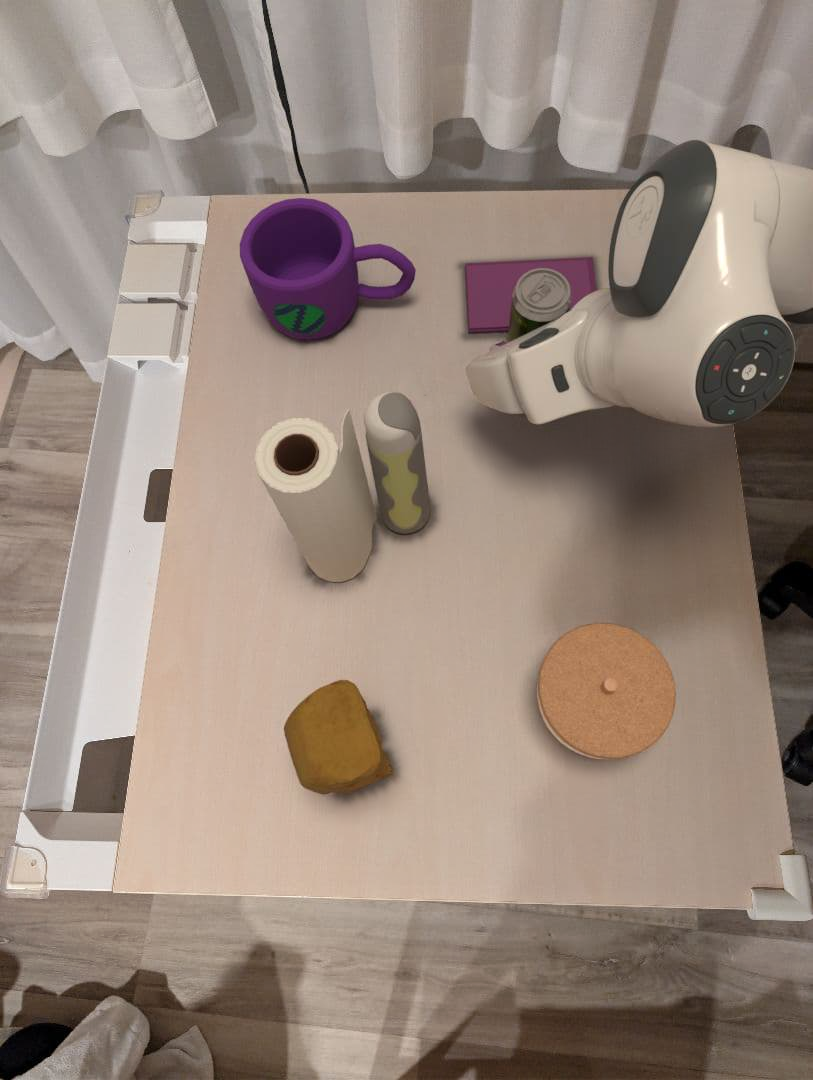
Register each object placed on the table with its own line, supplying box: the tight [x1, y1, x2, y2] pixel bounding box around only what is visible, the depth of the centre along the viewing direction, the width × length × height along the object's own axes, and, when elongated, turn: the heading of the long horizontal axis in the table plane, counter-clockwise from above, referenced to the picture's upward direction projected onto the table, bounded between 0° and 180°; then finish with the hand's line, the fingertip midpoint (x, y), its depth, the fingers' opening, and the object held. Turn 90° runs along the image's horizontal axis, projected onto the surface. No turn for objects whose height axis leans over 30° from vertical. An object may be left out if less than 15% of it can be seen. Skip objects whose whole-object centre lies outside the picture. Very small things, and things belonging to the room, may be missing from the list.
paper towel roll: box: [254, 408, 377, 583], centre depth 65 cm, size 7×6×21 cm
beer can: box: [506, 268, 571, 342], centre depth 75 cm, size 5×5×12 cm
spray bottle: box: [363, 391, 431, 535], centre depth 66 cm, size 5×5×20 cm
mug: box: [239, 197, 417, 341], centre depth 80 cm, size 17×11×10 cm, turn 87°
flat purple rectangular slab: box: [464, 256, 598, 334], centre depth 83 cm, size 14×9×1 cm, turn 91°
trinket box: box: [536, 622, 677, 760], centre depth 64 cm, size 11×11×9 cm
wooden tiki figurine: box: [283, 679, 394, 796], centre depth 61 cm, size 7×6×15 cm
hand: (540, 331), depth 75 cm, fingers open, 8 cm apart
